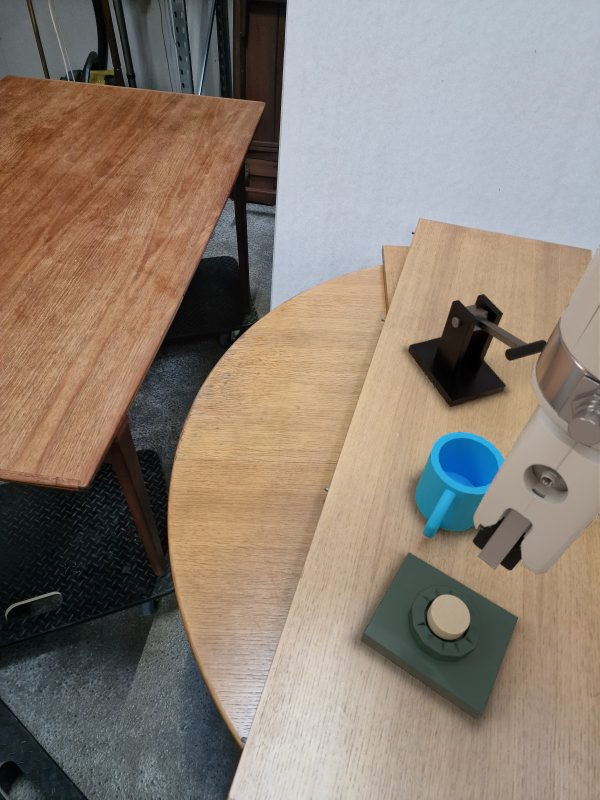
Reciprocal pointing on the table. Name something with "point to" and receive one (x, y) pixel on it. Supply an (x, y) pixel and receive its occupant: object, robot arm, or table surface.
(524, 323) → the table surface
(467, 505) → the mug
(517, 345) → the press lever
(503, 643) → the button housing
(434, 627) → the stop button
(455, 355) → the lever bracket
